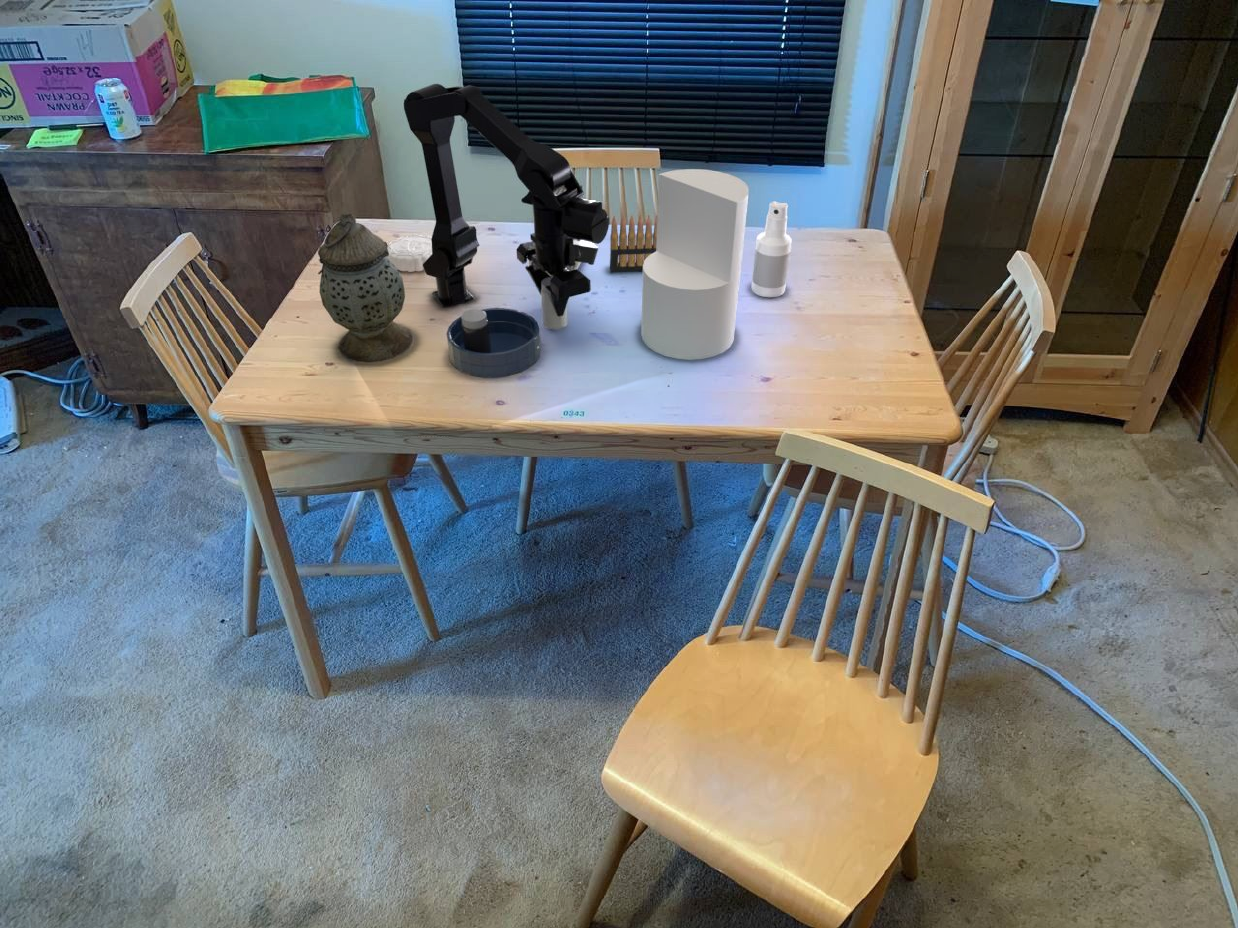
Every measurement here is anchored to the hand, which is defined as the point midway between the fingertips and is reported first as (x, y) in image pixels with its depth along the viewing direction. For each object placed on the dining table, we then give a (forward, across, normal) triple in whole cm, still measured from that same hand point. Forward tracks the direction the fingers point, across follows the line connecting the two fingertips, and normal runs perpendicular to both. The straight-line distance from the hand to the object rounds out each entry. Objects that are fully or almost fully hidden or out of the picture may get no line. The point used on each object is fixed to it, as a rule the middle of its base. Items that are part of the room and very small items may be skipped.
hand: (554, 310), depth 157 cm
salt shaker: (+3, 0, 0) cm, 3 cm away
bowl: (+4, -3, +14) cm, 14 cm away
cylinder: (+4, -14, -20) cm, 25 cm away
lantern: (+4, +11, +32) cm, 34 cm away
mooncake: (+4, +41, +13) cm, 43 cm away
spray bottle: (+4, -7, -44) cm, 45 cm away
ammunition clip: (+4, +14, -26) cm, 29 cm away
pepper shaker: (+4, -3, +17) cm, 17 cm away
